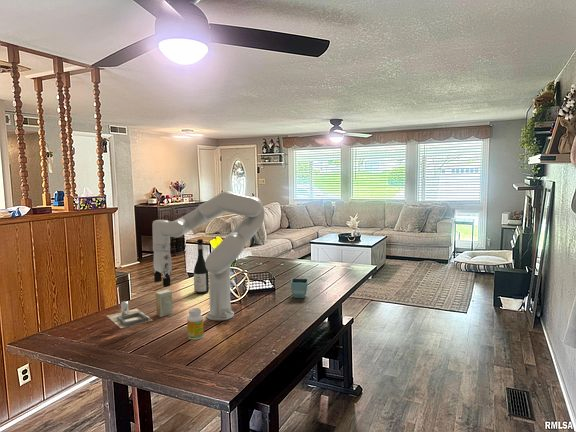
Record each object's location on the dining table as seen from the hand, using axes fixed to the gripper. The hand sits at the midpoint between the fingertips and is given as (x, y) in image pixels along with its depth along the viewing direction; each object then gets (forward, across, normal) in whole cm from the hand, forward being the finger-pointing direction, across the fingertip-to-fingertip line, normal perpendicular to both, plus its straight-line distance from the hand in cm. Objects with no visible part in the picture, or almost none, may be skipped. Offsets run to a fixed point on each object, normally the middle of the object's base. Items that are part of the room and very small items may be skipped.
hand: (162, 283), depth 183 cm
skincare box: (+16, -1, -1) cm, 16 cm away
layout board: (+16, +5, +13) cm, 22 cm away
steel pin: (+15, +11, +13) cm, 23 cm away
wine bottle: (+16, +23, -33) cm, 43 cm away
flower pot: (+14, -20, -68) cm, 72 cm away
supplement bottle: (+16, -31, -1) cm, 34 cm away
